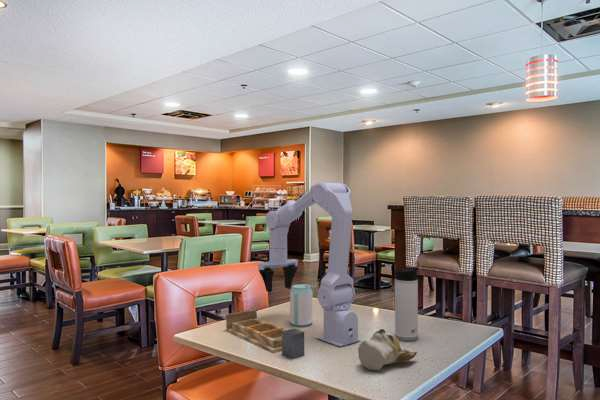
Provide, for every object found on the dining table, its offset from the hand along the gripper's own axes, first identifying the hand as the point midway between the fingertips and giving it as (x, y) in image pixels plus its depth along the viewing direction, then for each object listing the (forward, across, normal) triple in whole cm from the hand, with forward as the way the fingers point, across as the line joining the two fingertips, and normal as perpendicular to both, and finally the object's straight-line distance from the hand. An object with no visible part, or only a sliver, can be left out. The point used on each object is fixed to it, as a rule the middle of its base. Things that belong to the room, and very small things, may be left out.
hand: (278, 289), depth 140 cm
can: (+10, -3, +8) cm, 13 cm away
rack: (+10, +14, +12) cm, 21 cm away
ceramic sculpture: (+10, +2, +46) cm, 47 cm away
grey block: (+10, +16, +28) cm, 33 cm away
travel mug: (+10, -17, +38) cm, 43 cm away
